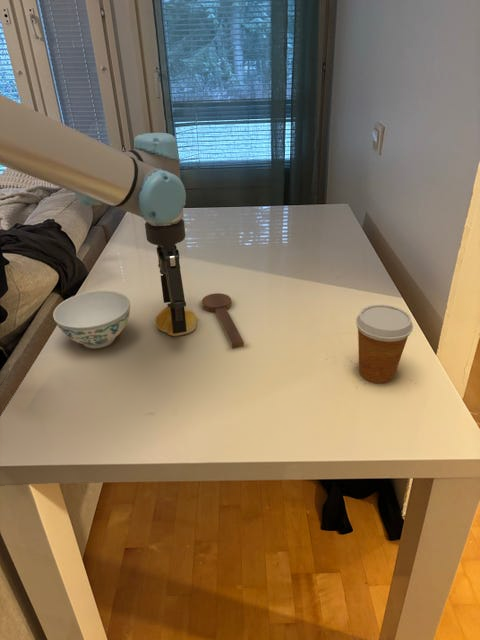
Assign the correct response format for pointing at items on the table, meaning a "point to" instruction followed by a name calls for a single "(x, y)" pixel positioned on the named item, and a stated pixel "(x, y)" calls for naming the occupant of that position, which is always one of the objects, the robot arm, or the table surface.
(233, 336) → the wooden spoon
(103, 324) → the chinaware
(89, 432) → the table surface
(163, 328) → the bread roll
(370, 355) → the disposable coffee cup
